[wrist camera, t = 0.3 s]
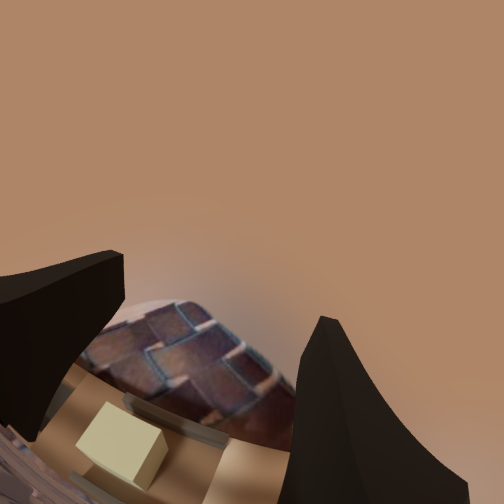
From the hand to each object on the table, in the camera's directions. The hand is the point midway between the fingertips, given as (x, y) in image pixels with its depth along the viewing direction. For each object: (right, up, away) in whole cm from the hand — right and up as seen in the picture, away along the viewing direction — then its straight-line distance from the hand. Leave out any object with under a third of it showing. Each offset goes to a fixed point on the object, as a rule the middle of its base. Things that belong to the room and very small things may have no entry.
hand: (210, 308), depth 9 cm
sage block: (-9, -16, +7) cm, 20 cm away
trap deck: (-11, -18, +9) cm, 22 cm away
